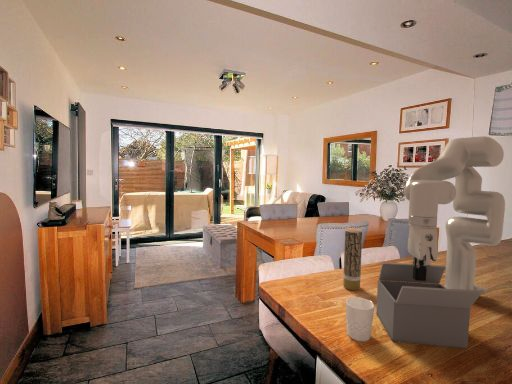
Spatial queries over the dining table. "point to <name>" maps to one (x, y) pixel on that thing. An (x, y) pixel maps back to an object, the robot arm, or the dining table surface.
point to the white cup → (359, 318)
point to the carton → (421, 318)
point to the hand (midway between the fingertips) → (419, 279)
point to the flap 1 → (409, 273)
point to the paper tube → (352, 258)
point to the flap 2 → (437, 297)
